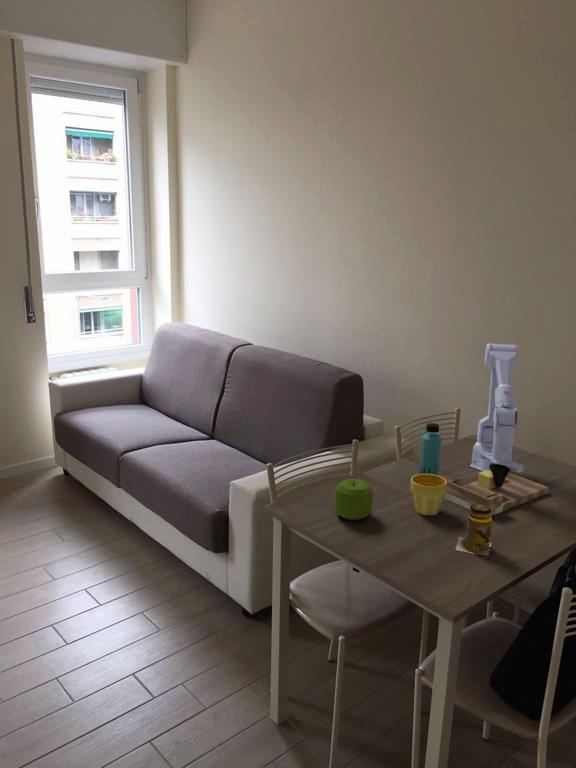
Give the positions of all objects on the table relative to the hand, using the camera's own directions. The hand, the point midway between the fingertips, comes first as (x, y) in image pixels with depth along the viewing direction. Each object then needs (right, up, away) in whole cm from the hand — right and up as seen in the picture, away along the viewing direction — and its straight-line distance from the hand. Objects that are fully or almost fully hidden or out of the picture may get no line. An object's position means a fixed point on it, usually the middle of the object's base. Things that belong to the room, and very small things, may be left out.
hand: (498, 486), depth 202 cm
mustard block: (-3, 0, +3) cm, 4 cm away
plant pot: (-24, -6, -10) cm, 27 cm away
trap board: (0, -3, 0) cm, 3 cm away
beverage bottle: (-20, 0, +10) cm, 22 cm away
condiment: (-17, -11, -31) cm, 37 cm away
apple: (-47, -6, -14) cm, 49 cm away
